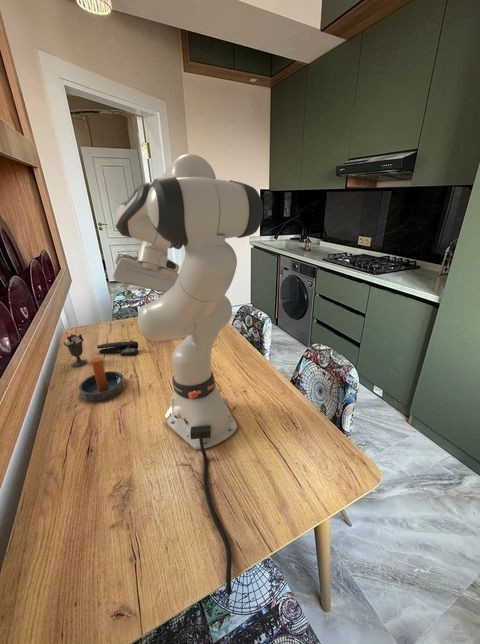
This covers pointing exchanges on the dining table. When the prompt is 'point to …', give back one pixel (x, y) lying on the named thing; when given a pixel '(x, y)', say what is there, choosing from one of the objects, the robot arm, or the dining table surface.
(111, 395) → the dish
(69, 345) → the sundae
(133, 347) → the can opener
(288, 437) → the dining table surface
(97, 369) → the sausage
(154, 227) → the robot arm
